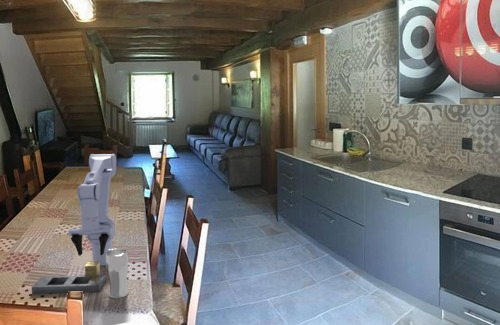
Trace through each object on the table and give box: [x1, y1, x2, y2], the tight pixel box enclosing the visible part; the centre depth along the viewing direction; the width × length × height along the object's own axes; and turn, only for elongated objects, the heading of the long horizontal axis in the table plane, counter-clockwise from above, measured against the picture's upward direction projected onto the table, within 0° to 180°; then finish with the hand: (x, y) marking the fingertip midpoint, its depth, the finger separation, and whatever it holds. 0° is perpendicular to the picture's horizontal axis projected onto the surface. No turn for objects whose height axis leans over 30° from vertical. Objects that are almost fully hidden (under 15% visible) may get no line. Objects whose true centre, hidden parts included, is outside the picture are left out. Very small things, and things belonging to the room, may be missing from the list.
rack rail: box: [31, 274, 107, 295], centre depth 139 cm, size 8×22×2 cm, turn 94°
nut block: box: [84, 260, 102, 275], centre depth 145 cm, size 4×4×6 cm
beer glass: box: [105, 248, 129, 300], centre depth 133 cm, size 7×7×15 cm
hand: (91, 254), depth 143 cm, fingers open, 7 cm apart
